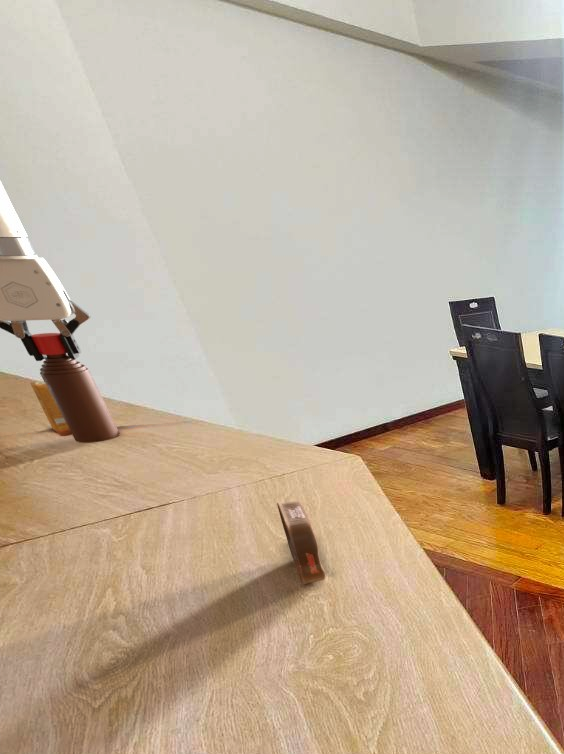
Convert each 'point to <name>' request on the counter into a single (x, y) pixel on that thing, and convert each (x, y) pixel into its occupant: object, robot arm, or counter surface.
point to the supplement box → (50, 408)
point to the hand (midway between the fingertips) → (57, 357)
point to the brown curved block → (301, 541)
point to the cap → (49, 343)
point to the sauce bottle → (78, 399)
